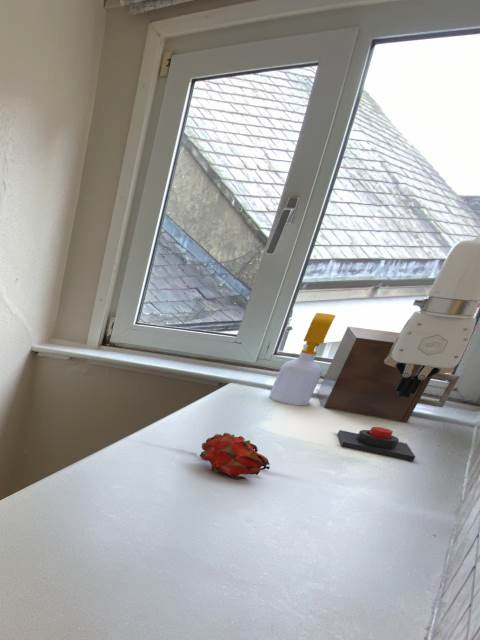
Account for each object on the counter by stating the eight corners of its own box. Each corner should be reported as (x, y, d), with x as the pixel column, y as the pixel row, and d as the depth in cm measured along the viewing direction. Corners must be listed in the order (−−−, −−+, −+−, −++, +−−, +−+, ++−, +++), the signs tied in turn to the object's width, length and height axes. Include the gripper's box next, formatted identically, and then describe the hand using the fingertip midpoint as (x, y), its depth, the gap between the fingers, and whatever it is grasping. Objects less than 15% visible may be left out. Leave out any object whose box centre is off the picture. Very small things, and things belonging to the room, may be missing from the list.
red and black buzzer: (401, 452, 124) (411, 435, 123) (410, 466, 117) (420, 449, 115) (335, 438, 130) (342, 422, 129) (339, 450, 123) (347, 434, 121)
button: (387, 436, 123) (391, 429, 122) (390, 441, 120) (394, 433, 119) (367, 432, 124) (370, 425, 124) (369, 436, 122) (373, 429, 121)
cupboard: (386, 405, 158) (422, 335, 149) (399, 425, 142) (441, 348, 133) (317, 393, 166) (347, 326, 157) (322, 410, 150) (356, 337, 141)
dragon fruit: (189, 466, 114) (250, 496, 107) (187, 453, 108) (252, 484, 100) (215, 433, 114) (278, 461, 106) (215, 418, 107) (282, 446, 100)
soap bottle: (308, 404, 155) (348, 315, 144) (304, 410, 149) (346, 318, 138) (270, 396, 161) (306, 310, 150) (265, 402, 155) (302, 313, 144)
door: (415, 409, 155) (454, 340, 146) (431, 430, 139) (476, 353, 130) (387, 405, 158) (423, 336, 149) (400, 424, 142) (441, 349, 133)
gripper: (401, 305, 111) (359, 392, 119) (507, 315, 103) (454, 407, 111) (395, 301, 116) (355, 384, 124) (495, 310, 109) (445, 398, 117)
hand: (402, 395), depth 118 cm, fingers closed
